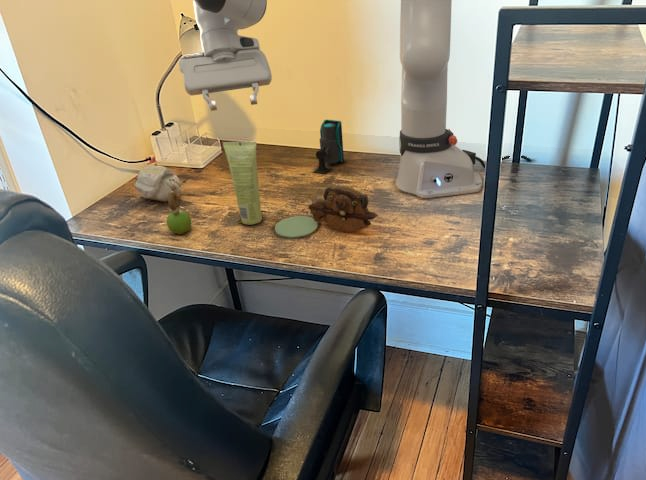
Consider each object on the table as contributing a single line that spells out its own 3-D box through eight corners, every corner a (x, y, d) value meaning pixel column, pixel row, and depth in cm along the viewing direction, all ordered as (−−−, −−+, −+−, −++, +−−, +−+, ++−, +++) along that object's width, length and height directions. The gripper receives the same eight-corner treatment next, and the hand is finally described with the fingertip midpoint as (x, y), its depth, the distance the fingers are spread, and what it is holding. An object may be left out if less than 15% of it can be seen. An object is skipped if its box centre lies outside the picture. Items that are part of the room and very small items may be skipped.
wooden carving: (306, 228, 123) (302, 188, 117) (314, 219, 126) (311, 180, 121) (374, 240, 118) (374, 199, 112) (380, 230, 122) (380, 190, 116)
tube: (257, 213, 132) (244, 135, 121) (268, 220, 128) (256, 141, 118) (237, 220, 129) (222, 142, 118) (247, 228, 125) (233, 147, 115)
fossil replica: (177, 206, 137) (189, 192, 146) (173, 175, 133) (185, 163, 142) (130, 204, 137) (145, 191, 146) (125, 173, 133) (140, 161, 142)
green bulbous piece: (195, 223, 128) (183, 176, 122) (192, 236, 123) (180, 188, 117) (172, 226, 128) (159, 179, 121) (168, 239, 123) (154, 191, 116)
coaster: (319, 216, 128) (319, 215, 128) (315, 237, 120) (315, 235, 120) (278, 218, 129) (277, 216, 129) (271, 238, 120) (271, 237, 120)
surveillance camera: (306, 130, 145) (324, 119, 153) (310, 171, 152) (328, 159, 159) (324, 132, 143) (342, 121, 150) (328, 174, 150) (344, 161, 157)
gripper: (174, 49, 121) (187, 108, 121) (264, 38, 125) (276, 95, 124) (179, 62, 127) (190, 118, 127) (264, 51, 131) (276, 105, 131)
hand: (234, 106), depth 126 cm, fingers open, 8 cm apart
